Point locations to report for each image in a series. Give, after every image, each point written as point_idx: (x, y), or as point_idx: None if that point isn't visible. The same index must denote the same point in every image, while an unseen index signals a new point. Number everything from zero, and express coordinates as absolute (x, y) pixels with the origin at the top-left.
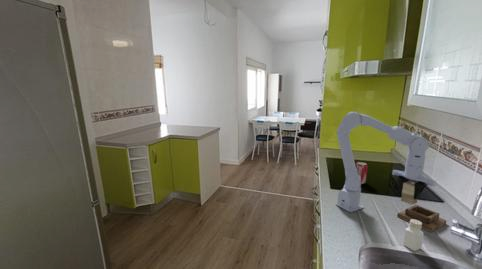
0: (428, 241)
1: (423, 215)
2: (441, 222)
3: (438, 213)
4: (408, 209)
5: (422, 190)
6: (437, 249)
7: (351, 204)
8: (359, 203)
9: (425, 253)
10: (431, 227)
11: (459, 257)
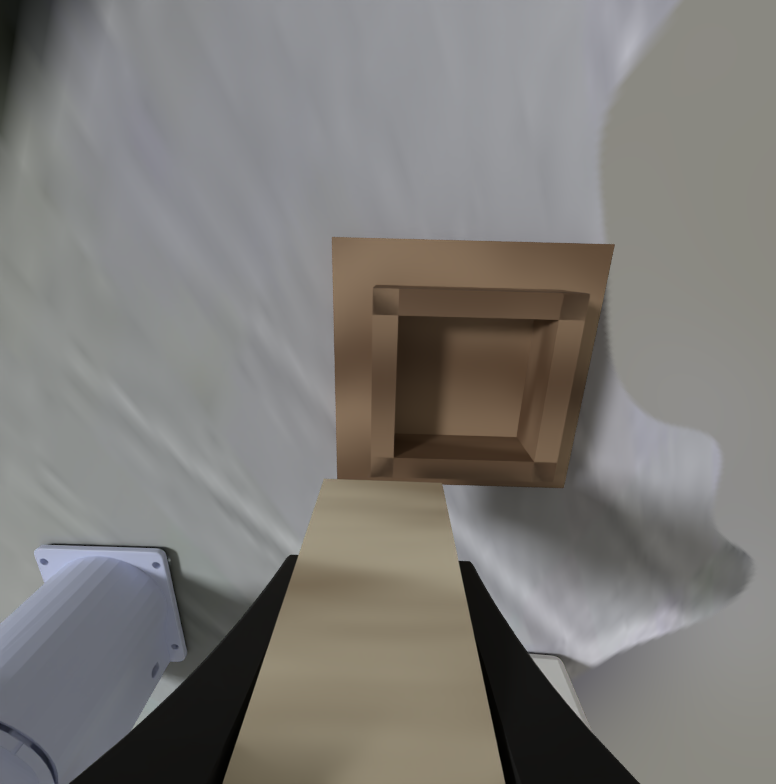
0: (566, 575)
1: (504, 464)
2: (590, 328)
3: (582, 296)
4: (386, 464)
5: (554, 699)
6: (612, 603)
7: (142, 684)
8: (138, 613)
9: (581, 666)
10: (557, 475)
11: (697, 585)
